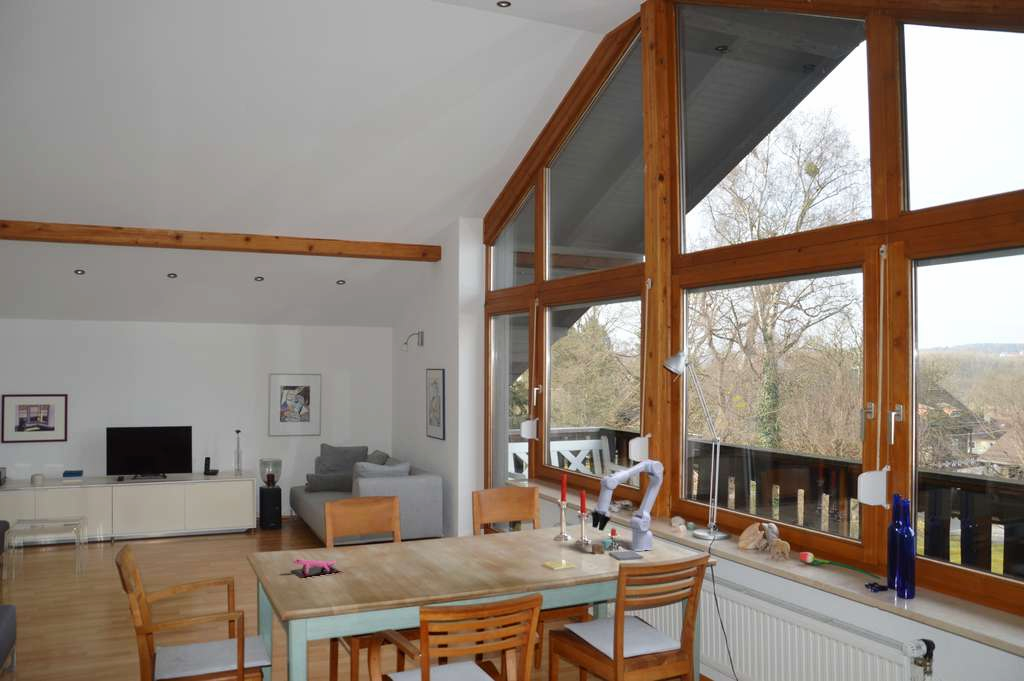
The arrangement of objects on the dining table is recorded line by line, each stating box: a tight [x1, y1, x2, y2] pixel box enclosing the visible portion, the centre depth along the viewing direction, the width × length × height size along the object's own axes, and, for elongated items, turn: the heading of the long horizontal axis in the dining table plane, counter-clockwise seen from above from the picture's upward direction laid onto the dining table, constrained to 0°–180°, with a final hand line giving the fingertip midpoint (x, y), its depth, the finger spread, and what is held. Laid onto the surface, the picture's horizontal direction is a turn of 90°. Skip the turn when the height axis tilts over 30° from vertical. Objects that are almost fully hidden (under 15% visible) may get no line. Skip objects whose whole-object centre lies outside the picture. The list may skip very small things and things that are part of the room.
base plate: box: [608, 550, 644, 561], centre depth 389 cm, size 12×12×1 cm
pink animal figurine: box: [290, 558, 343, 579], centre depth 357 cm, size 15×20×7 cm
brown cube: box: [591, 543, 605, 555], centre depth 396 cm, size 4×4×4 cm
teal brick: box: [601, 538, 616, 550], centre depth 406 cm, size 4×4×4 cm
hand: (597, 528), depth 396 cm, fingers open, 7 cm apart
